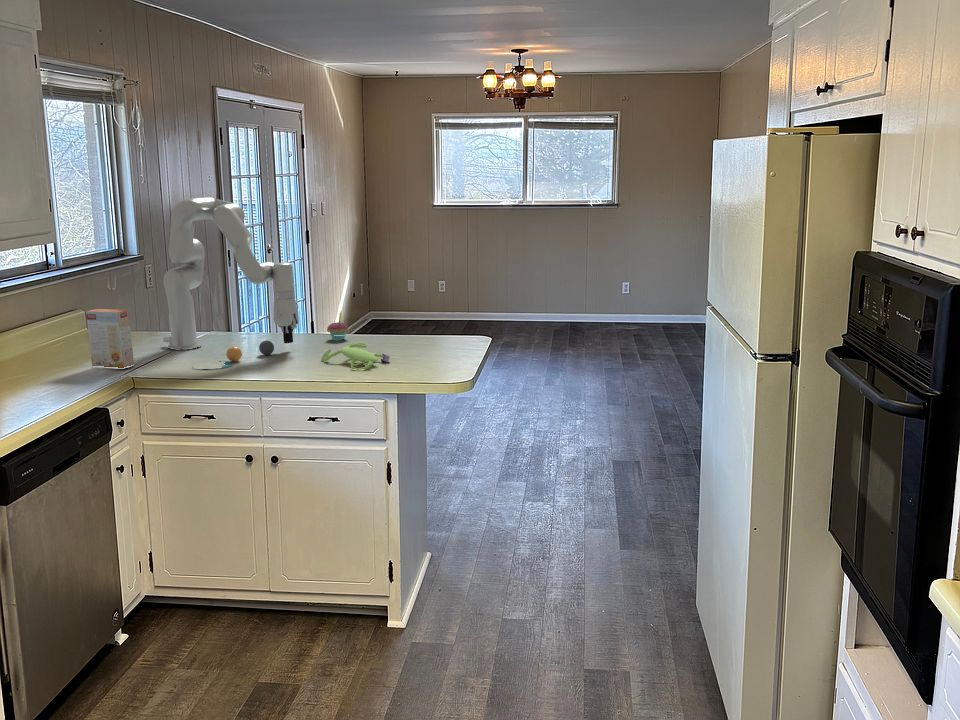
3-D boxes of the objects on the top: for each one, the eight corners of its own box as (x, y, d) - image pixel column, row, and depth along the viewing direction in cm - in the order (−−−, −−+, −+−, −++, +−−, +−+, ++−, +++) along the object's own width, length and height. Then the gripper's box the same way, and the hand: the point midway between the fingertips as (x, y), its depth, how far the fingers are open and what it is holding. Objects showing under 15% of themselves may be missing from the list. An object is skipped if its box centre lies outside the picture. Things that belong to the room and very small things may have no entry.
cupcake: (352, 338, 362) (351, 309, 360) (341, 342, 355) (339, 312, 352) (335, 336, 366) (333, 308, 363) (323, 340, 358) (321, 311, 356)
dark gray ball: (257, 356, 331) (256, 341, 330) (263, 353, 336) (262, 339, 335) (270, 356, 330) (269, 342, 329) (277, 353, 335) (276, 339, 334)
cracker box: (135, 366, 317) (129, 309, 312) (123, 370, 311) (117, 312, 307) (103, 364, 321) (97, 307, 317) (91, 368, 316) (85, 310, 311)
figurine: (358, 353, 335) (357, 339, 334) (400, 364, 316) (400, 349, 315) (316, 361, 323) (315, 346, 322) (358, 373, 304) (357, 357, 303)
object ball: (224, 362, 321) (222, 347, 320) (231, 359, 326) (230, 344, 325) (238, 363, 320) (236, 348, 319) (245, 359, 325) (244, 345, 324)
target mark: (184, 369, 312) (184, 368, 312) (205, 360, 325) (205, 360, 325) (220, 370, 309) (220, 370, 309) (239, 362, 322) (239, 361, 322)
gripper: (265, 295, 338) (269, 342, 342) (288, 298, 328) (292, 346, 332) (281, 292, 343) (285, 339, 347) (304, 295, 333) (308, 343, 337)
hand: (288, 342), depth 339 cm, fingers closed
